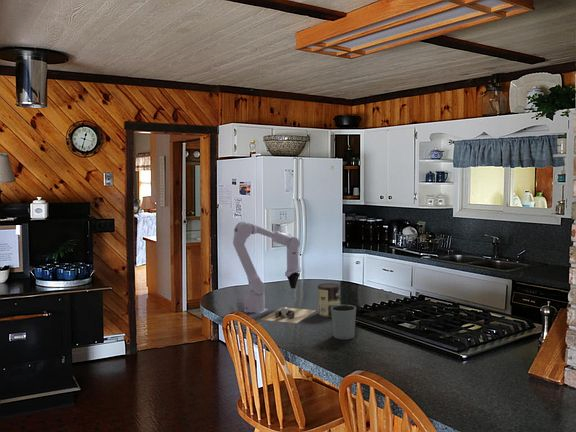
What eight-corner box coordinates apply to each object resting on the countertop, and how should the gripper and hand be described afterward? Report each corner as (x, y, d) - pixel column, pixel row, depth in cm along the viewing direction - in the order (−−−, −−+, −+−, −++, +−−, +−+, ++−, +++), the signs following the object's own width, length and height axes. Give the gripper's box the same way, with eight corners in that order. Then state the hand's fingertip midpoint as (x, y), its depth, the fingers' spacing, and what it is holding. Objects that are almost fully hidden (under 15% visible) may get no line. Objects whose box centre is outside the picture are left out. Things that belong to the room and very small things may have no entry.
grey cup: (358, 333, 237) (358, 305, 236) (353, 341, 227) (353, 311, 226) (334, 332, 240) (334, 303, 239) (328, 339, 231) (328, 309, 230)
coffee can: (341, 312, 272) (340, 283, 271) (338, 318, 262) (338, 287, 261) (319, 311, 274) (319, 282, 273) (316, 317, 264) (316, 287, 263)
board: (260, 320, 260) (260, 319, 260) (282, 308, 282) (281, 307, 282) (296, 324, 253) (296, 323, 253) (316, 311, 275) (316, 310, 275)
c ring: (280, 314, 269) (280, 309, 269) (297, 315, 266) (297, 310, 265) (274, 317, 263) (274, 312, 263) (292, 319, 260) (292, 314, 259)
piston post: (280, 318, 262) (279, 308, 262) (282, 316, 265) (282, 306, 265) (286, 318, 261) (286, 308, 260) (289, 316, 264) (289, 307, 263)
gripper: (294, 263, 272) (295, 291, 274) (305, 258, 286) (306, 285, 287) (280, 263, 275) (281, 290, 276) (292, 258, 289) (293, 284, 290)
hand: (293, 288), depth 282 cm, fingers closed
